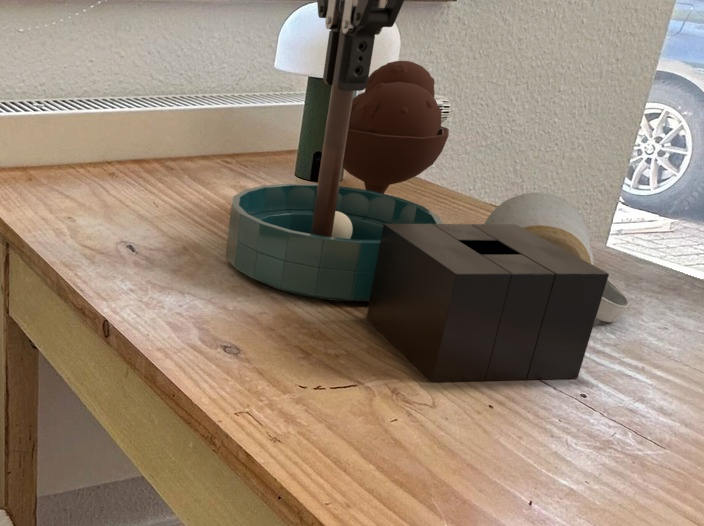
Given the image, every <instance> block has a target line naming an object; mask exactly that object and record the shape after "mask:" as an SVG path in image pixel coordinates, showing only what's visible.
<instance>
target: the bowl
mask: <svg viewBox="0 0 704 526" xmlns="http://www.w3.org/2000/svg"><path fill="white" fill-rule="evenodd" d="M317 186H318V183H278V184H277V183H276V184H266V185H259V186H254V187H251V188H246V189H243V190H241V191H239V192H238V193H236V194H235V195H233V196H232V199H231V205H230V206H231V207H230V216H229V223H228V232H227V233H228V234H227V240H226V241H227V242H226V252H225V258H226V260H228V261H229V263H230V264H231V265H232V266H233V268H234V269H236V270H237V271H239V272H240V273H243V274H244V275H246V276H247V277H250V278H251V279H252V280H256V281H258V282H260V283H262V284H264V285H266V286H269V287H272V288H274V289H277V290H280V291H283V292H287V293H290V294H294V295H298V296H303V297H308V298H313V299H319V300H326V301H327V300H328V301H339V302H369V300H370V295H371V290H372V284H373V279H374V273H375V268H376V263H377V257H378V252H379V247H380V241H381V236H382V230H383V225H384V224H444V222H443V220H442V219H441V217H440V216H439V215H438V214H436V213H435V212H433V211H431V209H428V208H426V207H425V206H423V205H421V204H418V203H415V202H413V201H411V200H407V199H404V198H402V197H398V196H395V195H390V194H387V193H386V194H385V193H384V194H382V193H378V192H373V191H369V190H366V189H362V188H356V187H351V186H350V187H349V186H344V185H343V186H342V185H339V192H338V198H337V205H336V211H338V212H341V213H343V214H345V215H346V216H347V217H348V218H349V219H350V221H351V223H352V228H353V231H352V236H351V238H350V239H344V238H334V237H324V236H319V235H314V234H311V227H312V220H313V213H314V206H315V199H316V193H317Z"/></svg>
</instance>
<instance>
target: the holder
mask: <svg viewBox="0 0 704 526" xmlns="http://www.w3.org/2000/svg"><path fill="white" fill-rule="evenodd" d="M609 276H610V273H609V272H608V271H605V270H603V269H601V268H599V267H598V266H597V265H594V264H593V265H592V264H590V263H588V262H586V261H584V260H582V259H581V258H579V257H577V256H575V255H573V254H571V253H569V252H567V251H566V250H564V249H562V248H560V247H558V246H556V245H554V244H552V243H550V242H549V241H547V240H545V239H543V238H541V237H539V236H537V235H535V234H533V233H532V232H530V231H528V230H526V229H524V228H522V227H520V226H518V225H516V224H485V223H471V224H470V223H443V224H384V225H383V230H382V236H381V241H380V247H379V252H378V257H377V263H376V268H375V273H374V279H373V284H372V290H371V295H370V300H369V301H368V305H367V307H368V308H367V311H366V316H365V317H366V318H365V320H367V321H368V322H369V323H370V324H371V325H372V326H373V327H374V328H375V329H376V330H377V331H378V332H379V333H380V334H381V335H382V336H383V337H384V338H386V339H387V340H388V341H389V342H390V343H391V344H392V345H393V346H394V347H395V348H396V349H397V350H398V351H399V352H400V353H401V354H402V355H403V356H404V357H405V358H406V359H408V361H410V363H412V364H413V366H415V367H416V368H417V369H418V370H419V371H420V372H421V373H422V374H423V375H424V376H425V377H426V378H427V379H428V380H429V381H430V382H431V383H439V382H440V383H442V382H443V383H444V382H445V383H446V382H484V381H514V380H515V381H517V380H518V381H521V380H560V379H564V380H565V379H578V378H579V375H580V373H581V369H582V365H583V362H584V359H585V356H586V352H587V348H588V345H589V342H590V339H591V336H592V332H593V329H594V325H595V323H596V319H597V318H596V316H597V312H598V309H599V306H600V303H601V299H602V296H603V293H604V289H605V286H606V283H607V280H608V279H609Z"/></svg>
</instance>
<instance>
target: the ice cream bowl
mask: <svg viewBox="0 0 704 526" xmlns="http://www.w3.org/2000/svg"><path fill="white" fill-rule="evenodd" d="M435 84H436V82H435V79H434V77H432V76H431V73H430V72H429V71H428V70H427V69H426V68H425V67H424V66H423V65H420V64H418V63H416V62H414V61H410V60H393V61H391V62H387V63H386V64H383V65H381V66H380V67H378V68H377V69H375V70H374V71H373V72H371V73H370V74H369V77H368V83H367V86H366V88H365V89H364V92H361V93H359V94H357V95H356V96H353V102H352V108H351V115H350V121H349V127H348V134H347V140H346V147H345V153H344V160H343V166H342V169H343V170H344V171H346V172H347V173H348V175H350V176H352V177H354V178H356V179H358V180H360V181H361V182H363V184H364V188H365V189H364V190H369V191H373V192H378V193H382V194H385V193H386V190H388V188H389V186H391V185H397V184H400V183H403V182H407V181H409V180H411V179H413V178H416V177H417V176H419V175H420V174H422V173H423V172H424V171H426V170H428V169H429V168H430V167H431V166H433V165H434V163H436V161H437V159H438V158H439V157H440V155H441V154H442V152H443V150H444V148H445V145H446V143H447V140H448V138H449V136H450V129H449V128H448V127H446V126H445V127H444V126H442V109H441V108H440V105H438V102H437V100H436V99H435ZM326 123H327V120H326V121H325V124H326Z"/></svg>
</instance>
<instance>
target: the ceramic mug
mask: <svg viewBox="0 0 704 526" xmlns="http://www.w3.org/2000/svg"><path fill="white" fill-rule="evenodd" d="M484 224H516V225H518V226H520V227H522V228H524V229H526V230H528V231H530V232H532V233H533V234H535V235H537V236H539V237H541V238H543V239H545V240H547V241H549V242H550V243H552V244H554V245H556V246H558V247H560V248H562V249H564V250H566V251H567V252H569V253H571V254H573V255H575V256H577V257H579V258H581V259H582V260H584V261H586V262H588V263H590V264H592V265H594V253H593V250H592V245H591V238H590V237H591V236H590V231H589V227H588V224H587V222H586V220H585V218H584V216H583V215H582V213H581V212H580V210H579V209H578V208H577V207H576V206H575V205H574V204H573V203H571V202H570V201H568V200H567V199H565V198H563V197H562V196H559V195H556V194H553V193H549V192H525V193H520V194H518V195H515V196H513V197H510V198H508V199H506V200H505V201H503V202H502V203H500V204H499V205H497V206H496V208H495V209H493V210H492V212H491V213H490V214H489V215H488V217H487V218H486V220H485V222H484ZM629 308H630V300H629V299H628V298H627V296H626V294H625V293H624V292H623V291H622V290H621V289H620V288H619V287H618V286H617V285H616V284H615V283H613V282H612V281H611V280H610V279H609V278H608V280H607V283H606V286H605V289H604V293H603V296H602V299H601V303H600V306H599V309H598V312H597V316H596V319H597V320H599V321H602V322H606V323H615V322H617V321H618V320H619V319H620V318H621V317H622V316H623V315H624V314H626V312H627V311H628V310H629Z"/></svg>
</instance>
